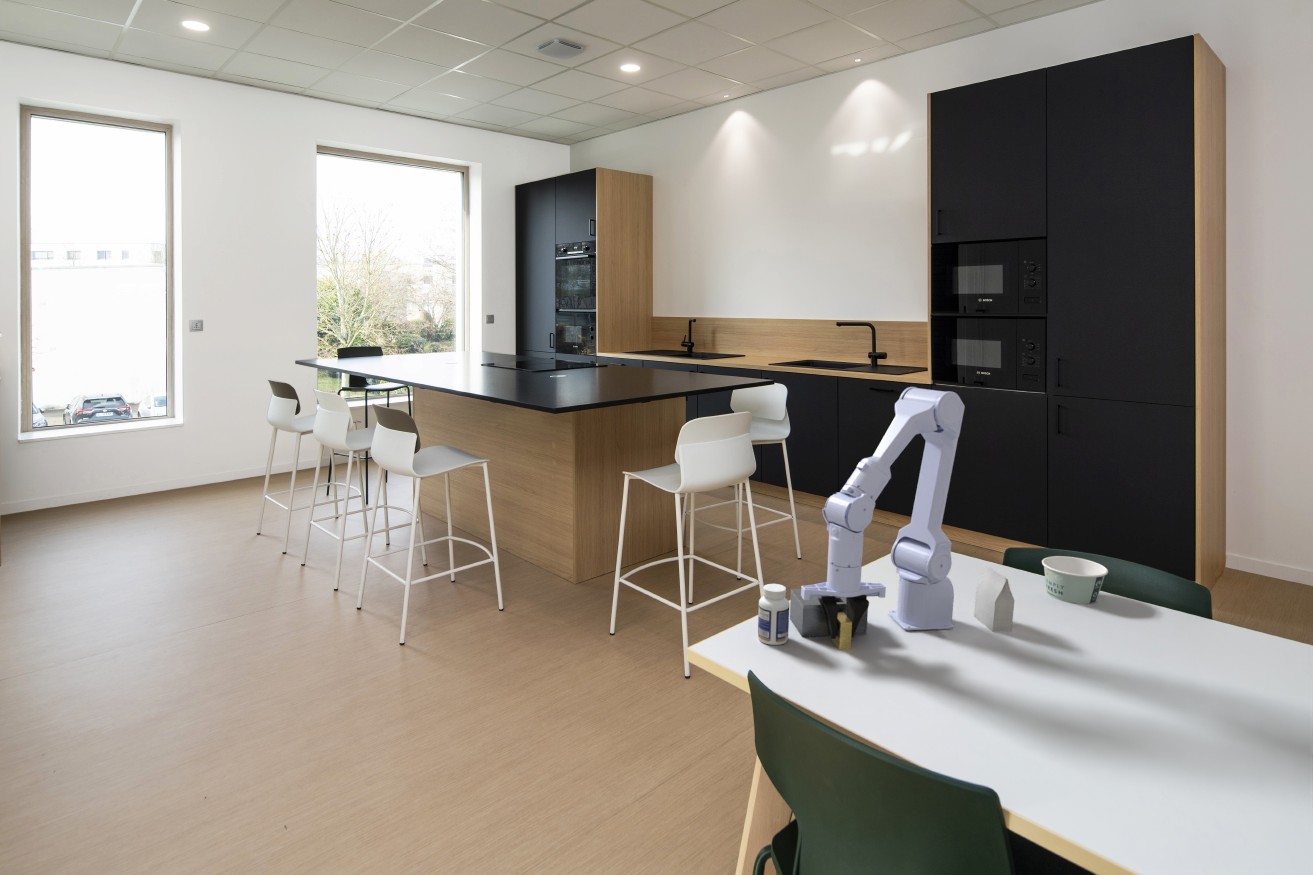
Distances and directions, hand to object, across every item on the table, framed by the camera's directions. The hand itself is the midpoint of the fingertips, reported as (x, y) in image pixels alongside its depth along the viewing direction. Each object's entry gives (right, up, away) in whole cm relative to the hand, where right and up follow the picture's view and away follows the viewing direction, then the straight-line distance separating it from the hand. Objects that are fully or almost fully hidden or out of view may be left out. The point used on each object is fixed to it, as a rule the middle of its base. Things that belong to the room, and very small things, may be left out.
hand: (840, 635), depth 134 cm
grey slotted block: (-1, 0, +7) cm, 7 cm away
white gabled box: (+31, 0, +9) cm, 32 cm away
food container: (+53, +2, +23) cm, 58 cm away
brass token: (0, -1, 0) cm, 2 cm away
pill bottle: (-12, -1, +2) cm, 12 cm away
